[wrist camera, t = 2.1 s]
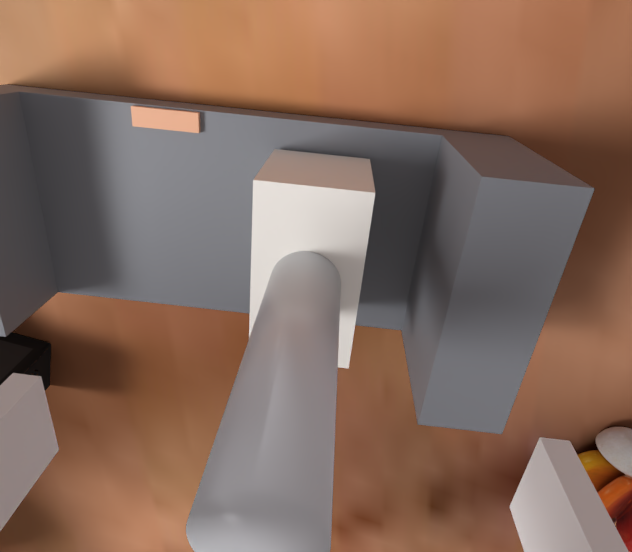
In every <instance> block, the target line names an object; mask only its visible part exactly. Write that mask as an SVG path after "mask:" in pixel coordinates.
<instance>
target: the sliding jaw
mask: <svg viewBox="0 0 632 552" xmlns="http://www.w3.org/2000/svg"><path fill="white" fill-rule="evenodd" d="M374 199H375V187H374V181H373V175H372V169H371V163H370V159H366V158H356V157H347V156H337V155H328V154H318V153H309V152H299V151H289V150H280V149H274V151H273V152H272V154H271V155H270V156H269V158H268V159H267V161H266V162H265V164H264V165H263V166H262V168H261V169H260V171H259V172H258V174H257V175H256V176H255V178H254V179H253V204H252V242H251V281H250V319H249V341H248V343H247V346H246V349H245V352H244V355H243V358H242V361H241V364H240V367H239V370H238V373H237V376H236V379H235V382H234V385H233V388H232V391H231V394H230V397H229V399H228V402H227V405H226V408H225V411H224V414H223V417H222V420H221V423H220V426H219V429H218V432H217V435H216V438H215V441H214V444H213V447H212V450H211V452H210V455H209V458H208V461H207V464H206V467H205V470H204V473H203V476H202V479H201V482H200V485H199V488H198V491H197V494H196V497H195V500H194V503H193V505H192V508H191V511H190V514H189V517H188V521H187V524H186V534H187V538H188V541H189V543H190V545H191V547H192V549H193V550H194V551H195V552H330V549H331V526H332V501H333V475H334V450H335V424H336V398H337V373H338V367H339V368H348V369H349V363H350V356H351V349H352V343H353V336H354V330H355V323H356V317H357V310H358V304H359V297H360V291H361V284H362V277H363V271H364V264H365V258H366V251H367V245H368V238H369V232H370V225H371V219H372V212H373V205H374Z"/></svg>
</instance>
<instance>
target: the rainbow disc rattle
mask: <svg viewBox="0 0 632 552" xmlns="http://www.w3.org/2000/svg"><path fill="white" fill-rule="evenodd" d="M596 445H597V447H598V449H599V450H592V451H586V452H583V453H580V454H578V457H579V459H580V461H581V463H582V465H583V467H584V469H585V470H586V472H587V474H588V476H589V478H590V480H591V482H592V484H593V485H594V487H595V489H596V491H597V493H598V495H599V497H600V499H601V500H602V502H603V504H604V506H605V508H606V510H607V512H608V514H609V516H610V517H611V519H612V521H613V523H615V521H616V526H617V531H618V532H619V534H620V536H621V538H622V540H623V542H624V544H625V546H626V548H627V549H628V551H630V552H632V429H630V428H627V427H611V428H607V429H605V430H603V431H601V432H600V433H599V434H598V435H597V436H596Z"/></svg>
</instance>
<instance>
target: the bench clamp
mask: <svg viewBox="0 0 632 552" xmlns="http://www.w3.org/2000/svg"><path fill="white" fill-rule="evenodd" d="M274 149H280V150H289V151H299V152H309V153H318V154H328V155H337V156H347V157H356V158H366V159H370V163H371V169H372V175H373V181H374V187H375V199H374V205H373V212H372V219H371V225H370V232H369V238H368V245H367V251H366V258H365V264H364V271H363V277H362V284H361V291H360V297H359V304H358V310H357V317H356V323H355V325H358V326H367V327H376V328H385V329H394V330H401V331H402V337H403V343H404V348H405V354H406V360H407V365H408V371H409V377H410V383H411V388H412V394H413V400H414V405H415V411H416V417H417V423H418V425H427V426H436V427H444V428H453V429H462V430H470V431H479V432H488V433H496V434H502V433H503V430H504V428H505V425H506V422H507V420H508V417H509V414H510V412H511V409H512V406H513V404H514V401H515V398H516V396H517V393H518V390H519V388H520V385H521V382H522V380H523V377H524V375H525V372H526V369H527V367H528V364H529V361H530V359H531V356H532V353H533V351H534V348H535V345H536V343H537V340H538V337H539V335H540V332H541V330H542V327H543V324H544V322H545V319H546V316H547V314H548V311H549V308H550V306H551V303H552V300H553V298H554V295H555V292H556V290H557V287H558V285H559V282H560V279H561V277H562V274H563V271H564V269H565V266H566V263H567V261H568V258H569V255H570V253H571V250H572V247H573V245H574V242H575V239H576V237H577V234H578V232H579V229H580V226H581V224H582V221H583V218H584V216H585V213H586V210H587V208H588V205H589V202H590V200H591V197H592V194H593V192H594V189H595V188H593V187H592V186H590V185H588V184H587V183H585V182H583V181H582V180H580V179H578V178H577V177H575V176H573V175H572V174H570V173H569V172H567V171H565V170H564V169H562V168H560V167H559V166H557V165H555V164H554V163H552V162H550V161H549V160H547V159H545V158H544V157H542V156H541V155H539V154H537V153H536V152H534V151H532V150H531V149H529V148H527V147H526V146H524V145H522V144H521V143H519V142H517V141H516V140H514V139H513V138H511V137H509V136H502V135H493V134H483V133H473V132H464V131H454V130H444V129H434V128H425V127H415V126H405V125H396V124H386V123H376V122H367V121H357V120H347V119H338V118H328V117H318V116H309V115H299V114H289V113H279V112H270V111H260V110H250V109H241V108H231V107H221V106H212V105H202V104H192V103H183V102H173V101H163V100H153V99H144V98H134V97H124V96H115V95H105V94H95V93H86V92H76V91H66V90H57V89H47V88H37V87H27V86H18V85H8V84H6V85H0V336H3V337H6V336H8V335H9V334H10V333H11V332H12V331H13V330H15V329H16V328H17V327H18V326H19V325H20V324H22V323H23V322H24V321H25V320H26V319H27V318H29V317H30V316H31V315H32V314H33V313H34V312H35V311H37V310H38V309H39V308H40V307H41V306H42V305H44V304H45V303H46V302H47V301H48V300H49V299H51V298H52V297H53V296H54V295H55V294H56V293H58V292H62V293H71V294H80V295H89V296H98V297H107V298H116V299H125V300H134V301H143V302H152V303H161V304H170V305H179V306H188V307H197V308H206V309H215V310H224V311H233V312H242V313H250V281H251V242H252V204H253V179H254V178H255V176H256V175H257V174H258V172H259V171H260V169H261V168H262V166H263V165H264V164H265V162H266V161H267V159H268V158H269V156H270V155H271V154H272V152H273V151H274Z"/></svg>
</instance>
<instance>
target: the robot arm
mask: <svg viewBox="0 0 632 552" xmlns="http://www.w3.org/2000/svg"><path fill="white" fill-rule="evenodd" d="M58 451H59V448H58V443H57V439H56V435H55V431H54V427H53V423H52V419H51V415H50V410H49V406H48V402H47V398H46V394H45V390H44V386H43V381H42V377H41V376H34V375H26V374H18V373H12V374H11V375H10V376H9V377H8V378H7V379H6V380H5V381H4V382H3V383H2V384H1V385H0V531H1V530H2V528H3V527H4V526H5V524H6V523H7V521H8V520H9V519H10V517H11V516H12V514H13V513H14V512H15V510H16V509H17V508H18V506H19V505H20V503H21V502H22V501H23V499H24V498H25V496H26V495H27V494H28V492H29V491H30V489H31V488H32V487H33V485H34V484H35V483H36V481H37V480H38V478H39V477H40V476H41V474H42V473H43V471H44V470H45V469H46V467H47V466H48V464H49V463H50V462H51V460H52V459H53V458H54V456H55V455H56V453H57V452H58ZM510 510H511V513H512V516H513V519H514V522H515V525H516V528H517V531H518V534H519V537H520V540H521V543H522V547H523V550H524V552H629V551H628V549H627V548H626V546H625V544H624V542H623V540H622V538H621V536H620V534H619V532H618V531H617V529H616V527H615V525H614V523H613V521H612V519H611V517H610V516H609V514H608V512H607V510H606V508H605V506H604V504H603V502H602V500H601V499H600V497H599V495H598V493H597V491H596V489H595V487H594V485H593V484H592V482H591V480H590V478H589V476H588V474H587V472H586V470H585V469H584V467H583V465H582V463H581V461H580V459H579V457H578V455H577V453H576V452H575V450H574V448H573V446H572V444H571V442H570V441H567V440H559V439H551V438H543V437H540V438H539V440H538V442H537V445H536V447H535V449H534V452H533V454H532V456H531V458H530V461H529V463H528V465H527V468H526V470H525V472H524V474H523V477H522V479H521V481H520V484H519V486H518V488H517V491H516V493H515V495H514V497H513V500H512V502H511V504H510Z"/></svg>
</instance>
